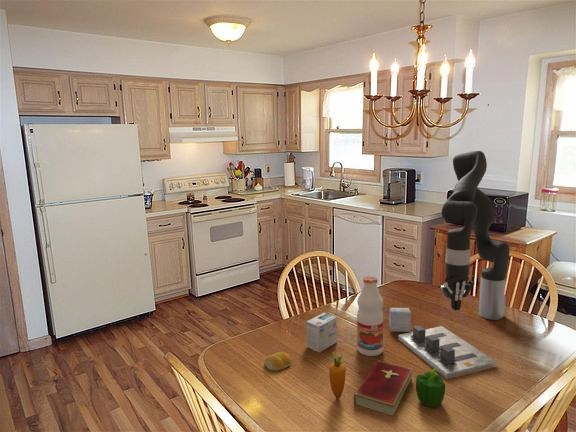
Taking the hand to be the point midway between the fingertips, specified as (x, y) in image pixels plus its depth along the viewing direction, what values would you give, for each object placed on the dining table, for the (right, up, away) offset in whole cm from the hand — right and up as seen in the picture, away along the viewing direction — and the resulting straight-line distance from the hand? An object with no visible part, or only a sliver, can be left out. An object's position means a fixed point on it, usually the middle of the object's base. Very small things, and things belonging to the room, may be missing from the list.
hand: (455, 309), depth 139 cm
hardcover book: (-27, -23, -11) cm, 37 cm away
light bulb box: (-44, -18, +18) cm, 51 cm away
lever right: (-8, -14, +15) cm, 22 cm away
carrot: (-42, -24, -14) cm, 50 cm away
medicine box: (-11, -15, +28) cm, 34 cm away
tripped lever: (-3, -17, 0) cm, 17 cm away
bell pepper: (-15, -24, -17) cm, 33 cm away
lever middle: (-5, -16, +8) cm, 18 cm away
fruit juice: (-27, -18, +13) cm, 35 cm away
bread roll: (-60, -21, +6) cm, 64 cm away
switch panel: (0, -18, +10) cm, 20 cm away
